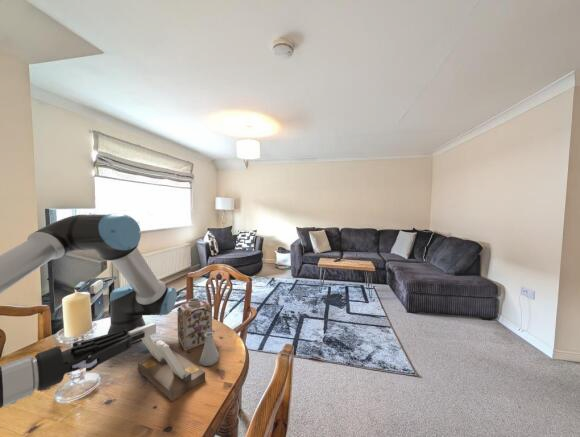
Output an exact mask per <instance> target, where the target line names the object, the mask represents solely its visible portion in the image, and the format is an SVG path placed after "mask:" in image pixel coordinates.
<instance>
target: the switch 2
mask: <svg viewBox="0 0 580 437" xmlns="http://www.w3.org/2000/svg"><path fill="white" fill-rule="evenodd" d="M154 344H155V346H156V347H157V348H158V350H159V351H160V353H161V354H162V356H163V357H164V359H165V360H166V361H167V363H168V364H169V366H170V367H171V369H172V370H173V372H174V373H175V374H176V375H177V376H179V377H180V378H181V379H182V380H183V379H184V376H185V375H186V373H185V371H184V369H183V368H182V366H181V365H180V363H179V362H178V360H177V359H176V357H175V355H174V354H173V352H172V351H171V349H172V348H170V345H169V344H167V343H166V342H164V341H163V340H161V339H160V340H157V341H155V343H154Z"/></svg>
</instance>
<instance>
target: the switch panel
mask: <svg viewBox="0 0 580 437" xmlns="http://www.w3.org/2000/svg"><path fill="white" fill-rule="evenodd" d="M170 349H171V351H172V352H173V354H174V355H175V357H176V359H177V360H178V362H179V363H180V365H181V366H182V368H183V369H184V371H185V373H186V375H185V376H184V379H183V380H182V379H181V378H180V377H179V376H177V375H176V374H175V373H174V372H173V370H172V369H171V367H170V366H169V364H168V363H167V361H166V360H165V359H164V357H163V358H161V361H160V362H159V361H158V360H157V359H155V358H154V357H153V356H152V355H151V356H149V357H147V358H144V359H142V360H140V361H137V370H138V371H139V372H140V373H141V375H143V376H144V377H145V378H146V379H147V380H148V381H149V382H150V383H152V384H153V385H154V386H155V388H157V389H158V390H159V391H160V393H162V394H163V395H164V396H166V397H167V399H168V400H170V401H171V402H173V401H175V400H176V399H178V398H180V397H182V396H183V395H184V394H186V393H187V392H189V391H191V389H193V388H194V387H196V386H197V385H199V384H201V383H202V382H204V381H205V380H206V371H205V370H203V369H202V368H200V367H199V366H197V365H196V364H194V363H193V362H191V361H190V360H189V359H186V358H185V357H184V356H182V355H181V354H179V353H178V352H176V351H175V350H173V349H172V348H170Z"/></svg>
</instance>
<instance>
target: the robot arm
mask: <svg viewBox="0 0 580 437" xmlns="http://www.w3.org/2000/svg"><path fill="white" fill-rule="evenodd" d="M141 235H142V234H141V228H140V225H139V223H138V222H137V221H136V219H135V218H133V217H131V216H130V215H126V214H120V213H109V214H76V215H70V216H67V217H65V218H62V219H59V220H57V221H55V222H51V223H49V224H47V225H46V226H43V227H41V228H39V229H38V230H36V231H33V233H30V234H29V235H28V237H27V240H25V241H24V242H22V243H20V244H19V245H18V244H17V246H15V247H13V248H12V249H11V248H10V249H9V250H8V251H6V252H4V253H2V254H0V295H1V294H2V293H4V292H6V291H7V290H8V289H10V288H11V287H13V286H14V285H16V284H17V283H19V282H20V281H22V280H23V279H24V278H26V277H28V276H29V275H31V274H32V273H34V272H36V270H39V268H41V267H43V265H45V264H47V263H48V262H50V261H51V260H58V259H61V258H62V257H63V256H64V255H65V256H66V255H67V254H69V253H72V252H76V251H95V252H96V253H97V254H98V255H99V257H100V258H101V259H102V260H104V261H106V262H107V261H108V262H111V263H112V264H113V265H114V266H115V268H116V270H118V272H119V273H120V275H121V276H122V277H123V278H124V279H125V281H126V282H127V283H128V284H127V285H124V286H121V287H118V288H115V289H113V290H112V291H111V292H110V297H109V314H110V326H109V329H108V331H107V333H106V334H104V335H100V336H96V337H92V338H88V339H84V340H79V341H75V342H73V343H72V347H71V348H67V349H65V350H63V351H62V349H61V348H60V347H58V346H56V347H53V348H49V349H47V350H43V351H41V352H37V353H36V354H35V355H34V357H32V356H30V355H28V356H25V357H23V358H20V359H16V360H12V361H10V362H7V363H4V364H1V365H0V409H1V408H3V407H6V406H9V405H14V404H16V403H17V402H18V401H20V400H23V399H24V398H25V399H26V398H28V397H30V396H31V395H33V394H34V393H35V391H36V390H37V391H38V392H39V391H40V392H42V391H43V390H47V389H49V388H51V387H53V386H56V385H58V384H60V383H61V382H62V381H63V380H64V379H65V378H64V376H65V375H66V374H69V373H71V372H75V371H78V370H80V369H83V368H84V369H85V371H86V372H91V371H93V370H94V369H95V368H96V367H98V366H99V365H101V364H103V363H105V362H106V361H108V360H110V359H112V358H114V357H117V356H118V355H119V354H122V353H123V352H125V351H128V350H129V349H131V348H132V345H133V344H135V343H138V342H139V341H142V340H141V339H142V338H145V337H147V336H150V337H151V336H152V335H155V334H156V333H157V324H156V323H155V322H151V323H149V324H146V322H145V320H144V318H143V316H168V315H170V313H171V312H172V311H173V310H174V307H175V304H176V300H177V290H176V288H175V287H171V286H170V287H167V284H166V283H165V282H164V281H163V280H160V279H159V280H158V278H157V276H156V275H155V274H154V272H153V271H152V268H151V267H150V265H149V264H148V263H147V260H146V259H145V258H144V256H143V255H142V253H141V251H140V250H139V248H138V246H139V244H140V240H141V237H142V236H141ZM137 327H140V328H137ZM136 328H137V329H136Z"/></svg>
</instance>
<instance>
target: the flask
mask: <svg viewBox="0 0 580 437" xmlns="http://www.w3.org/2000/svg"><path fill="white" fill-rule="evenodd" d="M204 337H205V344H204V346H203V350H202V353H201V355H200V358H199V361H198V364H199V365H201V366H203V367H206V366H207V367H208V366H214V365H215V364H216V363H218V361H219V359H220V357H221V356H220V354H219V351H218V349H217V346H216V344H215V341H214V331H212V332H208V333H206V334H205V335H204Z"/></svg>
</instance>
